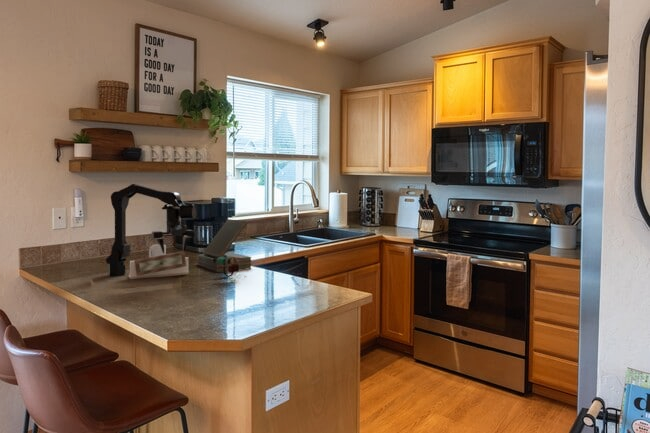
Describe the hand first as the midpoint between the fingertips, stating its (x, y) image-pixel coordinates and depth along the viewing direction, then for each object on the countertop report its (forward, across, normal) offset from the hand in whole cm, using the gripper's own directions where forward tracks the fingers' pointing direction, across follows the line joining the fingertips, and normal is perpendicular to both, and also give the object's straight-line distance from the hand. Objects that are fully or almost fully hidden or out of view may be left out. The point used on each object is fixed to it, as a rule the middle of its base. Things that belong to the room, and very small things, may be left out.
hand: (173, 252), depth 223 cm
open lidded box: (+12, +30, +15) cm, 35 cm away
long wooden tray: (+11, -6, +2) cm, 13 cm away
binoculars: (+12, +21, -12) cm, 27 cm away
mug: (+11, -2, +29) cm, 31 cm away
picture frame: (+5, -6, 0) cm, 7 cm away
